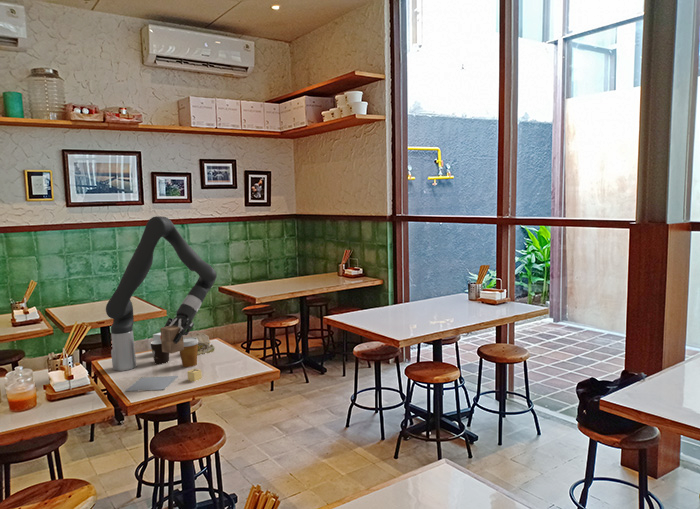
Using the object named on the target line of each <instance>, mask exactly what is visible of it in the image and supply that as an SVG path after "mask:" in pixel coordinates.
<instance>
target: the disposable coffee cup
mask: <svg viewBox="0 0 700 509" xmlns="http://www.w3.org/2000/svg"><path fill="white" fill-rule="evenodd" d="M183 341H184V350H181V351H179V355H180V360H181V364H182V367H183V368H191V367H194V366H197V364H198V355H197V349H198V342H199V341H198V339H197V338H195V337H191V336H189V337H183Z"/></svg>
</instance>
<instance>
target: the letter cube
mask: <svg viewBox="0 0 700 509" xmlns="http://www.w3.org/2000/svg"><path fill="white" fill-rule="evenodd" d="M202 376H203V375H202V369H197V368H194V369H190V370H187V381H188V380H190V381H189V382H192V381H196V380H198V381H200V380H199V379H201V378H202V379H203V377H202ZM202 379H201V380H202ZM196 382H197V381H196Z"/></svg>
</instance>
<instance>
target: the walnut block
mask: <svg viewBox="0 0 700 509" xmlns="http://www.w3.org/2000/svg"><path fill="white" fill-rule="evenodd" d="M182 328H183V326H182ZM159 329H160V332H161V344H162V352H166V353H169V354H175V353H178V352H180V351H181V350H184V341H183V338H184V335H183V336H182V337H181V338H180V340H179V342H178V343H177V344H176V343H174V342H173V340H174V338H175V336H176V335H177V333H178V331H179V329H180V327H178V326H174V325H173V326H166V327H164V326H163V327H160V328H159ZM181 331H182V330H181Z"/></svg>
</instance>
